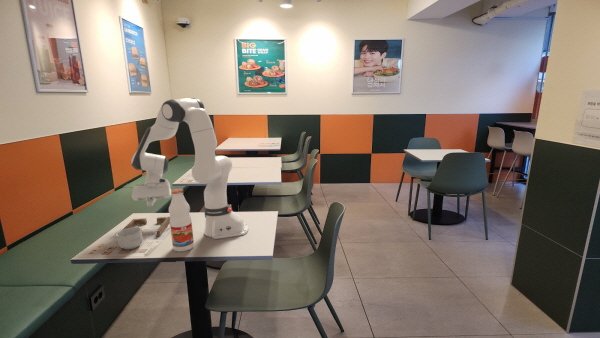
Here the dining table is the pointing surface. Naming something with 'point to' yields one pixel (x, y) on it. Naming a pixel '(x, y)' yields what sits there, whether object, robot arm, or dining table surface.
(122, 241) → the teacup
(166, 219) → the wooden l-brackets
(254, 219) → the dining table surface
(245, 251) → the dining table surface
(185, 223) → the fruit juice
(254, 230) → the dining table surface
